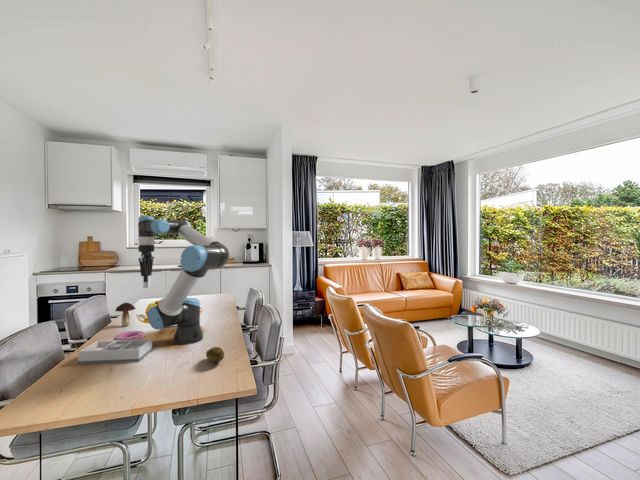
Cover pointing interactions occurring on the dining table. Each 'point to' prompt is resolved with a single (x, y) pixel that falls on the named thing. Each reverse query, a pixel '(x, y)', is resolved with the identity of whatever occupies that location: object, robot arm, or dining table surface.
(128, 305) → the decorative mushroom
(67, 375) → the dining table surface
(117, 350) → the keypad board
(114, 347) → the key slate
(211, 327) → the dining table surface
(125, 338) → the donut
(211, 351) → the green bumpy oval piece
